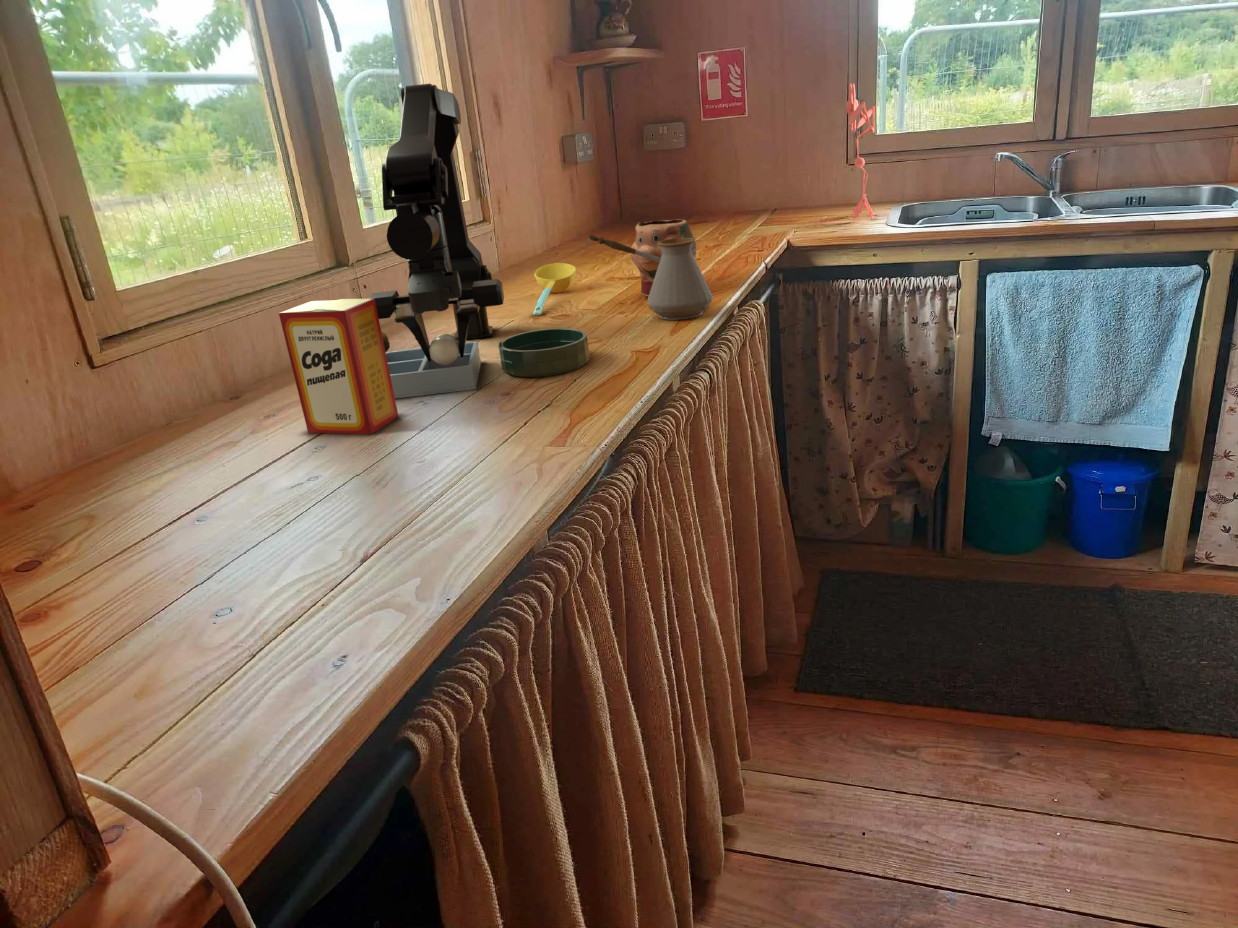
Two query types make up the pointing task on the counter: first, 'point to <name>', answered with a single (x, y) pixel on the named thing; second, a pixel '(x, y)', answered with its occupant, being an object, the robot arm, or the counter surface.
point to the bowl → (544, 352)
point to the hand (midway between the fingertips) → (446, 358)
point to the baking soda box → (340, 365)
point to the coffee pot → (673, 279)
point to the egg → (444, 349)
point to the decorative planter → (656, 246)
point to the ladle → (553, 281)
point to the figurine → (854, 112)
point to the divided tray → (432, 372)
